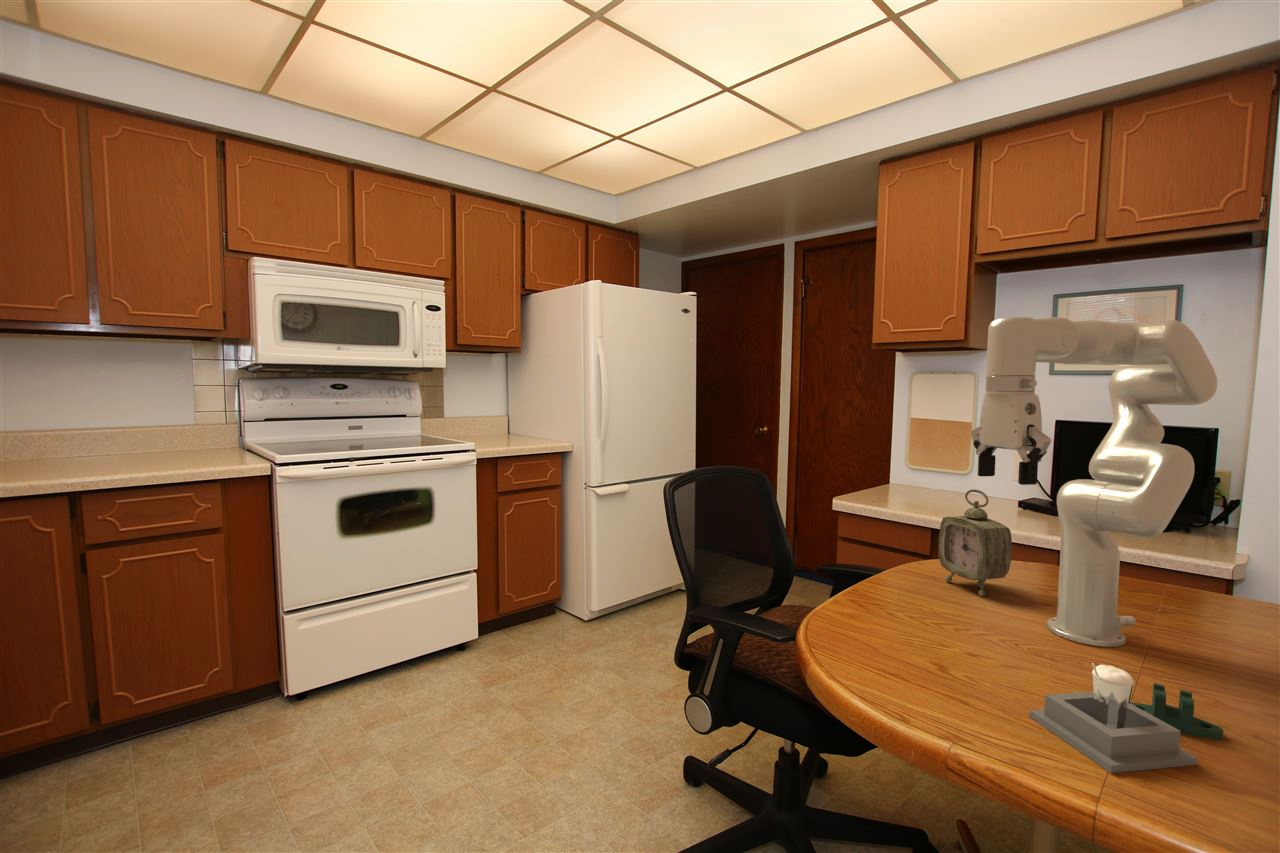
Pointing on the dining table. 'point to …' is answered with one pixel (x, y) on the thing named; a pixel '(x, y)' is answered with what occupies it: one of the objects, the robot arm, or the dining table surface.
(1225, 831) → the dining table surface
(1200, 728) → the mount
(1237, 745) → the dining table surface
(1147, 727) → the socket
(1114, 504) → the robot arm
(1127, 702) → the milkshake
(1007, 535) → the tabletop clock
